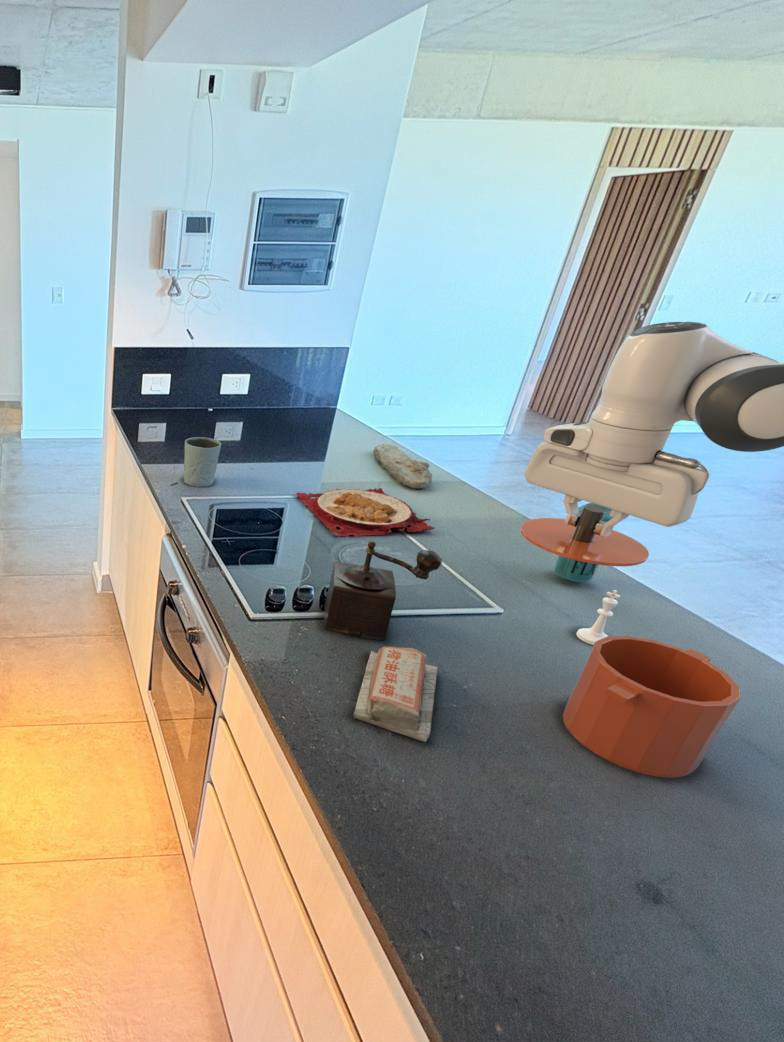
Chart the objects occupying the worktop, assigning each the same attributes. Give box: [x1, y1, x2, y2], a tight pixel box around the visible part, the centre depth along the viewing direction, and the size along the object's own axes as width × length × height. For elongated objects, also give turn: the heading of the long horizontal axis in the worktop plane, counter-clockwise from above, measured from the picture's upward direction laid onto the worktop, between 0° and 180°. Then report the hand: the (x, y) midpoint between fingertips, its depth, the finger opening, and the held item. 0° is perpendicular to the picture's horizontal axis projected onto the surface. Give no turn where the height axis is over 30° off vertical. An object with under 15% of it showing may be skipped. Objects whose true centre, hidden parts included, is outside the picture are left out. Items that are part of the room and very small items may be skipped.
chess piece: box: [576, 589, 621, 646], centre depth 106 cm, size 5×5×10 cm
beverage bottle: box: [554, 502, 614, 583], centre depth 122 cm, size 6×7×20 cm
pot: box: [562, 635, 741, 779], centre depth 85 cm, size 15×20×12 cm
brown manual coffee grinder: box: [323, 540, 443, 641], centre depth 109 cm, size 16×11×18 cm
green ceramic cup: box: [183, 436, 222, 488], centre depth 177 cm, size 10×10×12 cm
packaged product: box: [353, 645, 438, 743], centre depth 95 cm, size 18×5×10 cm
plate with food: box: [295, 487, 436, 537], centre depth 157 cm, size 24×26×4 cm
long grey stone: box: [372, 443, 433, 489], centre depth 185 cm, size 35×5×10 cm
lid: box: [519, 506, 650, 567], centre depth 93 cm, size 16×16×6 cm
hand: (586, 529), depth 94 cm, fingers closed on lid, 2 cm apart
